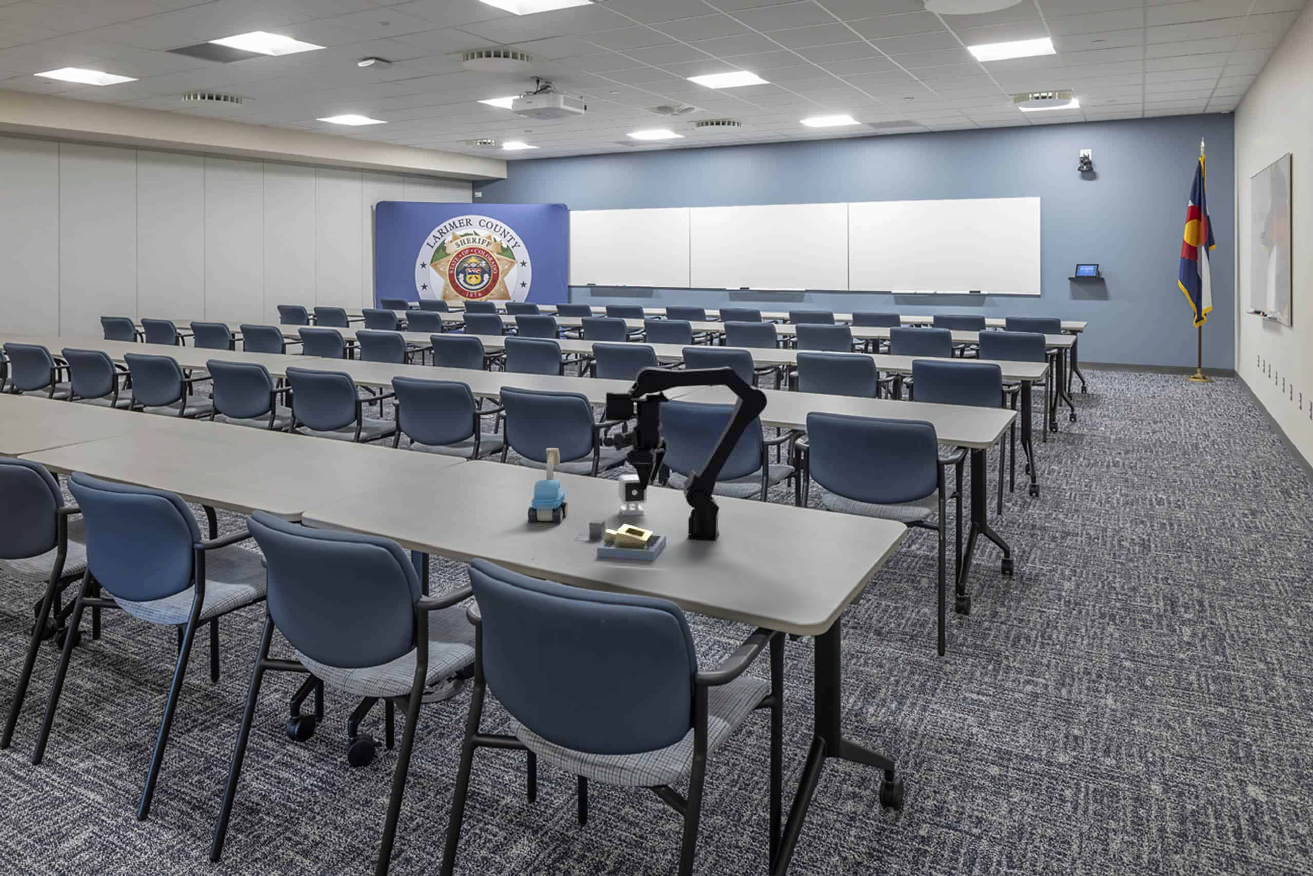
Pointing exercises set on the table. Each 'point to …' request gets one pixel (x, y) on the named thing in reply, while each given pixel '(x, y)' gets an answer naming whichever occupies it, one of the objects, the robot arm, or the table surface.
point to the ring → (629, 537)
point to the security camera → (631, 494)
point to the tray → (633, 550)
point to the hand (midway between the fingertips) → (648, 485)
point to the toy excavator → (548, 494)
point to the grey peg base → (593, 532)
